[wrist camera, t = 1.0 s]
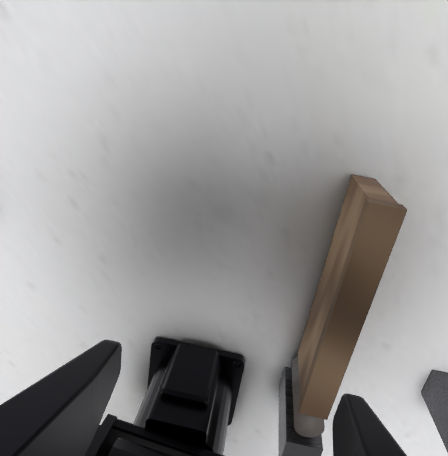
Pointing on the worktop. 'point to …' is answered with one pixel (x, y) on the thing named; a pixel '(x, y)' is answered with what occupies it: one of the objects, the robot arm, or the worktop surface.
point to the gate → (343, 299)
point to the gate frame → (312, 446)
